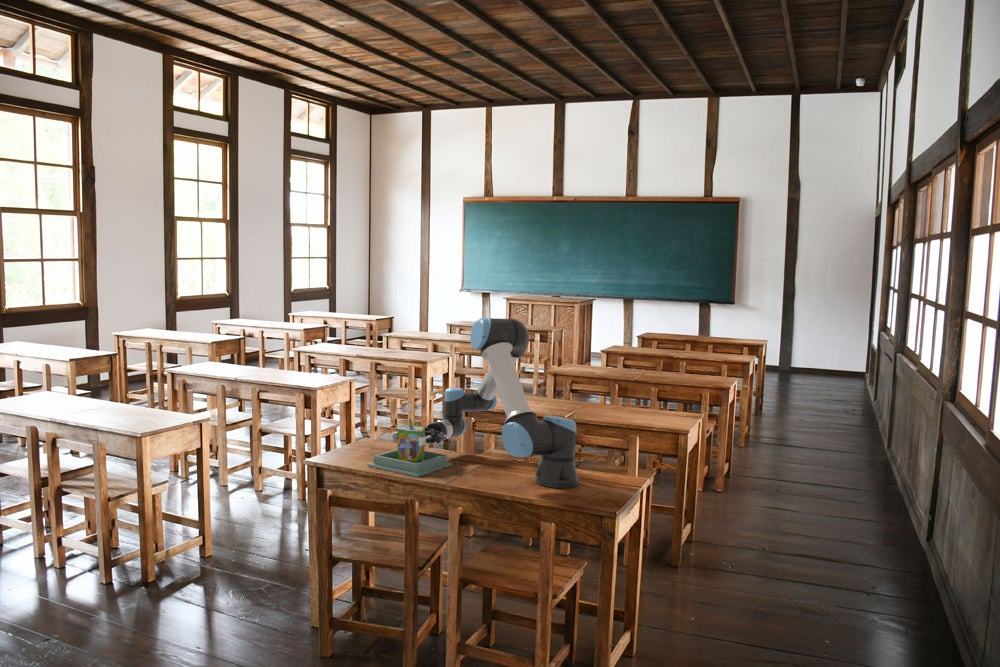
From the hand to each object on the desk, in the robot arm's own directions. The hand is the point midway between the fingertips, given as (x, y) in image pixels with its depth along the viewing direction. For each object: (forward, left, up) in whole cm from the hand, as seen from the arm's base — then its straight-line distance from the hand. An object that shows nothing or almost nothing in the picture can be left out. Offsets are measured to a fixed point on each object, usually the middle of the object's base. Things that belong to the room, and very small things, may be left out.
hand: (405, 439), depth 271 cm
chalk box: (0, -4, -8) cm, 9 cm away
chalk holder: (0, -4, -10) cm, 11 cm away
